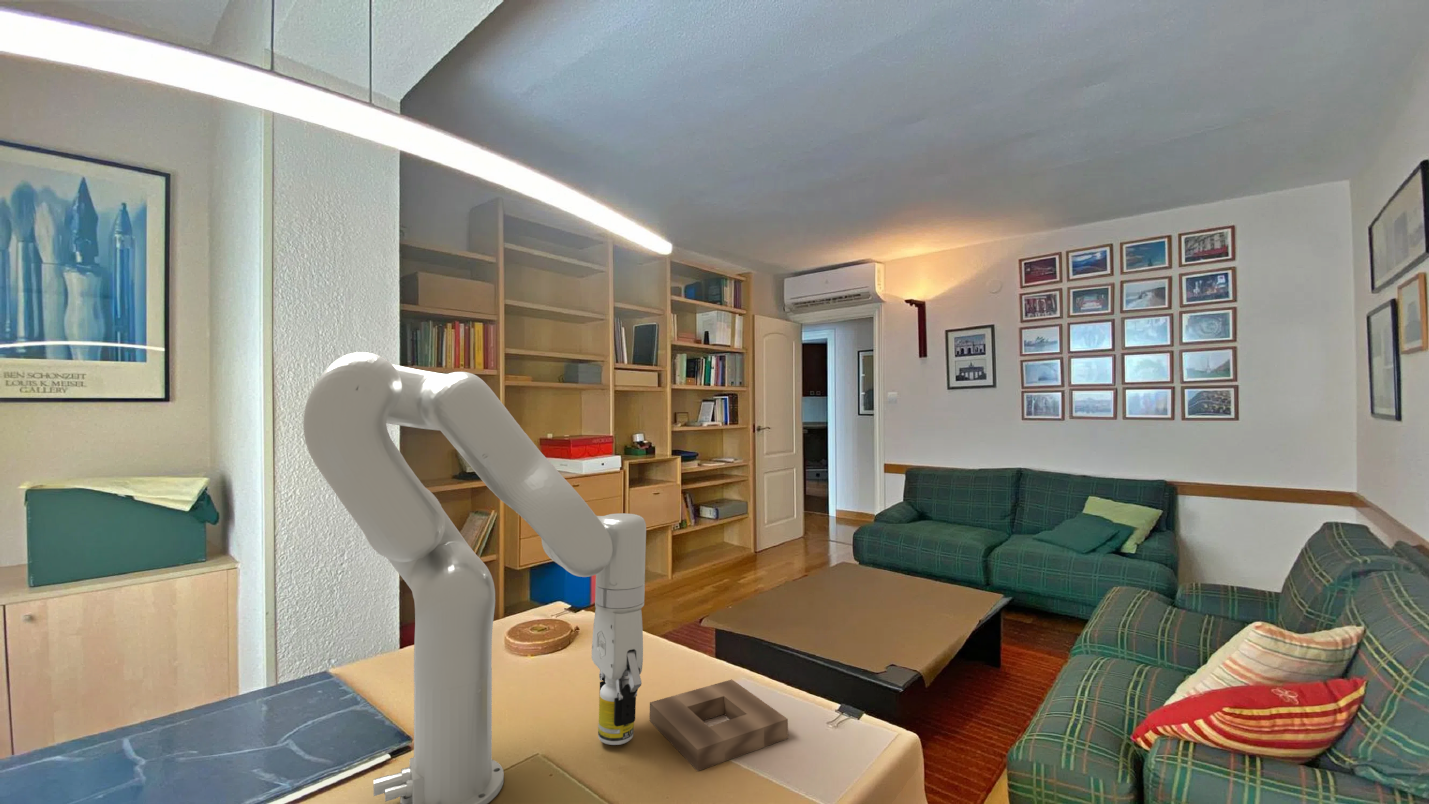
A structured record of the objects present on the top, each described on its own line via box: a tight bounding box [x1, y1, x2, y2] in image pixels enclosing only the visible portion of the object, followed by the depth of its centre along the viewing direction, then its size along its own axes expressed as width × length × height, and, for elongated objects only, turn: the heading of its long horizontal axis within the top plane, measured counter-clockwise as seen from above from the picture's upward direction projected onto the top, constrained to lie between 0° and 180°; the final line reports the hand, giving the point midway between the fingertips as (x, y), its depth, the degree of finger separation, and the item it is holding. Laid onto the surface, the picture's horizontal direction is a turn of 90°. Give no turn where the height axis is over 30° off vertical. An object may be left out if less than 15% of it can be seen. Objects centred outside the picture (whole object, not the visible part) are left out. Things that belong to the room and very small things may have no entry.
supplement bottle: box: [597, 671, 635, 746], centre depth 91 cm, size 5×5×10 cm
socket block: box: [649, 679, 789, 772], centre depth 94 cm, size 16×16×3 cm
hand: (616, 713), depth 91 cm, fingers closed on supplement bottle, 5 cm apart
